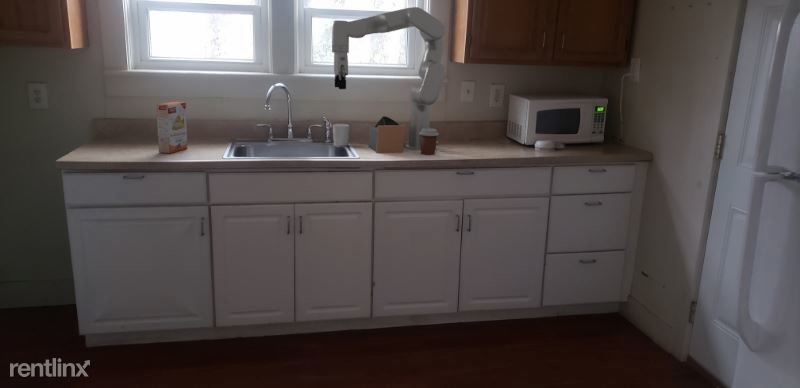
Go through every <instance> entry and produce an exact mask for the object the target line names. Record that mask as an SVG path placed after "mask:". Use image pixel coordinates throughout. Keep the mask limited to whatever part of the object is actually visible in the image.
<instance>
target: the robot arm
mask: <svg viewBox="0 0 800 388" xmlns="http://www.w3.org/2000/svg"><path fill="white" fill-rule="evenodd" d="M412 27H413V28H414V27H415V28H417V30H419V34H420V36H421V38H422V39H423V41H424V44H425V48H424V54H423V57H422V60H421V62H420V66H419V69H418V75H419V77H420V79H421V80H423V81H422V82H416V83H414V84H413V85H412V86H411V88H410V90H409V102H410V104H409V105H410V107H409V108H410V110H409V112H410V113H409V115H410V116H409V136H408V139H409V140H408V144H406V145H405V148H406V149H408V150H411V151H412V150H413V151H421V140H420V135H419V132H421V129H423V128H430V119H431V105H433V104H435V103H436V102H437V100H438V99H439V96H440V93H441V90H442V89H443V84H444V81H445V78H446V69H445V67H444V65H443V64H442V63H441V62H442V58H443V53H444V42H443V39H442V38H444V36H445V35H446V26H445V25H444V23H443V22H442V21H441V20H439V18H438V19H437V18H436V17H434V16H433V15H431V14H430V13H429V12H427V11H426V10H424V9H423V8H421V7H418V6H414V7H413V6H412V7H405V8H401V9H397V10H393V11H387V12H384V13H379V14H376V15H373V16H372V15H371V16H369V17H364V18H359V19H356V20H351V21H347V20H340V19H339V20H333V21H332V23H331V53H332V54H333V73H334V88H338V90H346V89H347V76H348V75H349V59H348V54H349V53H350V38H351V39H362V38H364V37H365V36H367V35H372V34H374V35H375V34H385V33H391V32H395V31H399V30H403V29H408V28H409V29H410V28H412ZM438 145H439V141H438V140H437V141H436V146H438Z"/></svg>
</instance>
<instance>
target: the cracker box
mask: <svg viewBox="0 0 800 388" xmlns="http://www.w3.org/2000/svg"><path fill="white" fill-rule="evenodd" d="M156 118H157V119H156V122H157V140H158V143H157V144H158V153H161V154H173V153H175V152H176V153H177V152H180V151H183V150H188V133H187V132H188V130H187V128H188V127H187V125H188V123H187V102H184V101H172V102H171V101H170V102H169V101H168V102H163V103H157V104H156Z"/></svg>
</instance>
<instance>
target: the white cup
mask: <svg viewBox="0 0 800 388" xmlns="http://www.w3.org/2000/svg"><path fill="white" fill-rule="evenodd" d="M332 135H333V136H332V138H333V139H332V140H333V146H334V147H344V146H346V147H348V146H349V135H350V125H349V124H346V123H345V124H344V123H335V124H332Z"/></svg>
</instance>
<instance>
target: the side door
mask: <svg viewBox="0 0 800 388" xmlns="http://www.w3.org/2000/svg"><path fill="white" fill-rule="evenodd" d="M405 130H406V126H405V125H404V124H403V125H400V124H399V125H385V126H378V130H377V145H376V152H375V153H376V154H388V153H389V154H390V153H391V154H394V153H398V154H399V153H404V143H405V142H404V141H405Z"/></svg>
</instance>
